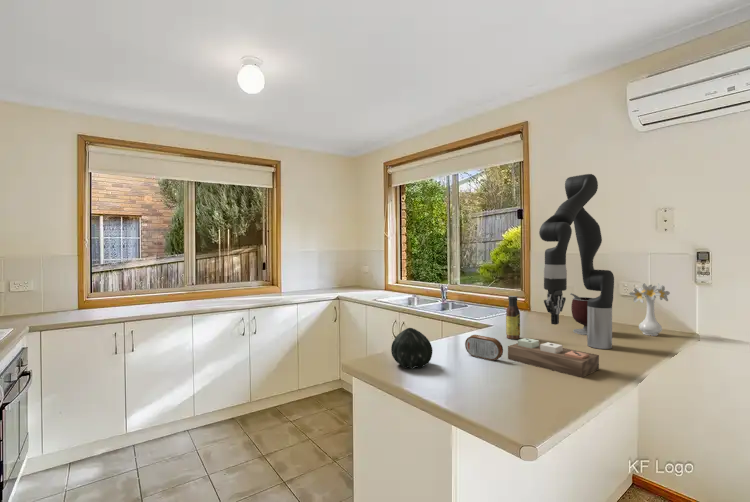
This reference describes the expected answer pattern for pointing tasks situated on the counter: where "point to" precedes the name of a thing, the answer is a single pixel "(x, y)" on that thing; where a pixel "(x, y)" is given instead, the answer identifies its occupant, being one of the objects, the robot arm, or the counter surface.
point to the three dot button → (577, 355)
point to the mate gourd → (580, 312)
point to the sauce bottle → (512, 319)
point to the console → (554, 360)
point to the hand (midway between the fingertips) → (554, 324)
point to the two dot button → (528, 343)
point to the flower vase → (650, 307)
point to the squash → (411, 349)
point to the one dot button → (551, 347)
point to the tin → (484, 347)
